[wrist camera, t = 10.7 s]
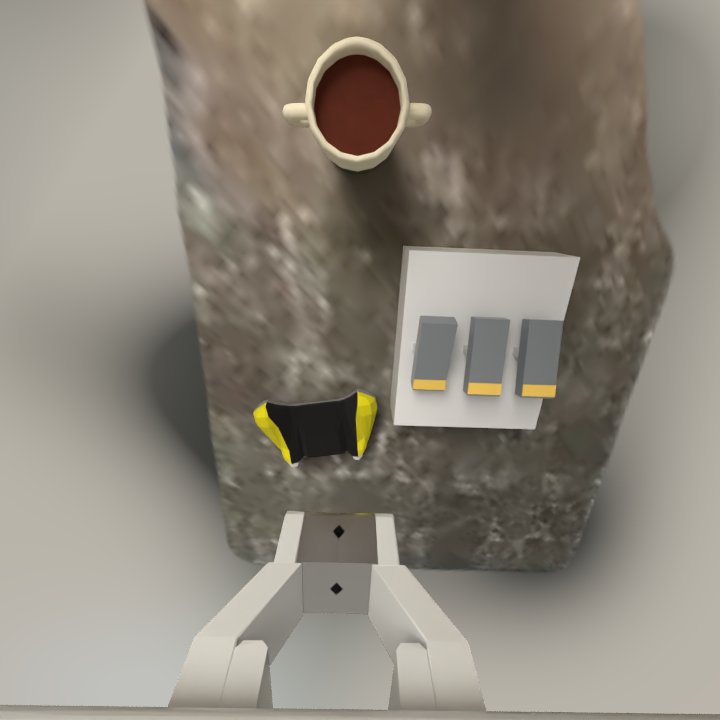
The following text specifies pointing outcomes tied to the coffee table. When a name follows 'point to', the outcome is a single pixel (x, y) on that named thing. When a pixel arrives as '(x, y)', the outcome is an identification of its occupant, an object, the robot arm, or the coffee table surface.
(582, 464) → the coffee table surface
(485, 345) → the block
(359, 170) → the character mug
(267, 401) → the gaming controller
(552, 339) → the block
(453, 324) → the block
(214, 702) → the robot arm
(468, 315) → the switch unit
